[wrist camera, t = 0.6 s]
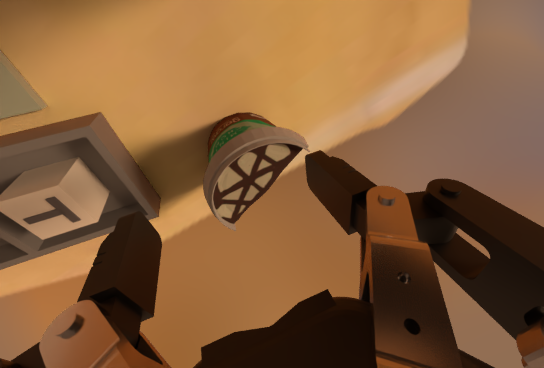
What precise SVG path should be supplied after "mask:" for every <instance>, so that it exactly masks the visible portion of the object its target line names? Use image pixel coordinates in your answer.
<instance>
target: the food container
mask: <svg viewBox="0 0 544 368" xmlns="http://www.w3.org/2000/svg"><path fill="white" fill-rule="evenodd" d="M303 148H304V149H305V150H307V151H308V152H310V151H309V150H308V149H307V148H308V144H307V142H306V140H305V139H304V137H302V136H301V135H299V134H298V133H296V132H294V131H292V130H289V129H285V128H281V127H276V126H275V125H273V124H272V123H271V122H269V121H268V120H266V119H265V118H263V117H262V116H260V115H256V114H253V113H236V114H233V115H231V116H228V117H226V118H224V119H223V120H222V121H220V122H219V123H218V124H217V125H216V126H215V127H214V129H213V130H212V132H211V134H210V137H209V141H208V157H209V164H208V167H207V169H206V171H205V176H204V180H203V190H204V195H205V198H206V200H207V203H208V205H209V207H210V209H211V211H212V212H213V214H214V215H215V217H216V218H217V219H218V220H219V221H220V222H222V223H223V224H224V225H225V226H226V227H228V228H229V229H232V230H234V231H236V228H235V222H236V221H237V220H238V219H239V218H240V216H241V215H242V214H243V213H244V212H245V211H246V210H247V208H249V206H251V205H252V204H253V203H254V202H255V201H256V200H258V199H259V198H260V197H261V196H262V195H263V194H264V193H265V192H266V191H267V190H268V189H269V188H270V187H271V185H272V184H273V183H274V181H275V180H276V179H277V177H278V176H279V175H280V173H281V172H282V171H283V170H284V168H285V167H286V166H287V165H288V164H289V163H290V162H291V161H292V160H293V159H294V157H295V156H296V155H297V154H298V153H299V152H300V151H301V150H302V149H303Z"/></svg>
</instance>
